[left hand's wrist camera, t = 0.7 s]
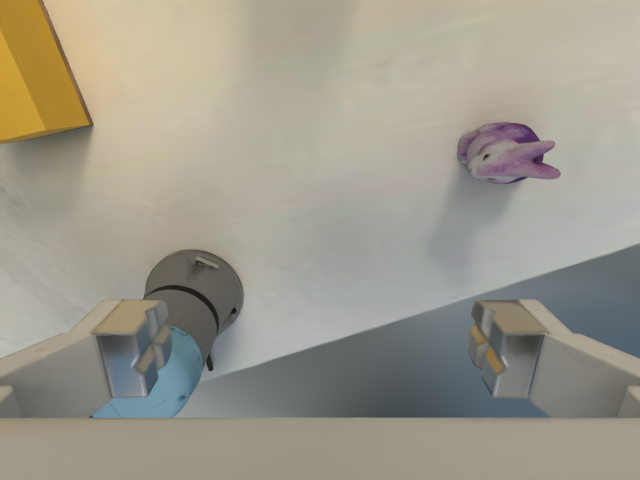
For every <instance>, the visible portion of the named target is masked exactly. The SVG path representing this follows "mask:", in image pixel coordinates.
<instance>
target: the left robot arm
mask: <svg viewBox="0 0 640 480" xmlns="http://www.w3.org/2000/svg"><path fill="white" fill-rule="evenodd" d="M168 316H169V313H168V308H167V304H166V303H165V302H164V301H163V300H124V299H117V300H102V301H101V302H100V303H99V304H98V305H97V306H96V307H95V308H94V309H93V310H92V311H91V312H90V313H89V314H87V315H86V316H85V317H84V318H83V319H82V320H81V321H80V322H79V323H78V324H77V325H76V326H75V327H74V328H72V329H71V330H70V331H69V332H68V333H67V334H59V335H56V336H54V337H52V338H49V339H47V340H44V341H42V342H40V343H37V344H35V345H32V346H30V347H28V348H25V349H23V350H20V351H18V352H16V353H13V354H11V355H8V356H6V357H4V358H1V359H0V480H640V359H639V358H636V357H634V356H631V355H629V354H627V353H624V352H622V351H619V350H617V349H615V348H612V347H610V346H608V345H605V344H603V343H600V342H598V341H596V340H593V339H591V338H588V337H586V336H584V335H581V334H573V333H572V332H571V331H570V330H569V329H568V328H566V327H565V326H564V325H563V324H562V323H561V322H560V321H559V320H558V319H557V318H556V317H555V316H554V315H553V314H552V313H550V312H549V311H548V310H547V309H546V308H545V307H544V306H543V305H542V304H541V303H540V302H539V301H537V300H534V299H526V300H486V301H475V303H474V305H473V308H472V313H471V316H472V317H473V319H474V321H475V322H476V323H475V324H474V325H473V326H472V327H471V328H470V329H469V331H468V339H467V343H468V352H469V355H470V358H471V360H472V362H473V364H474V366H476V367H477V368H479V369H480V370H482V377H481V378H482V380H483V382H484V383H485V385H486V387H487V389H488V390H489V392H490V394H491V395H492V397H499V398H528V400H529V401H530V402H532V403H533V404H534V405H536V406H537V407H538V408H539V409H541V410H542V411H544V412H545V413H546V414H547V415H549V416H550V417H551V418H89V417H90V416H91V415H93V414H94V413H95V412H97V411H98V410H99V409H101V408H102V407H103V406H105V405H106V404H107V403H109V402H110V401H111V400H112V399H111V398H141V397H148V396H149V394H150V392H151V390H152V389H153V387H154V385H155V383H156V382H157V380H158V378H159V377H158V370H160V369H161V368H163V367H164V366H166V364H167V362H168V360H169V358H170V355H171V351H172V342H173V338H172V331H171V329H170V328H169V327H168V326H167V325H166V324H165V323H164V322H165V321H166V319H167V317H168Z"/></svg>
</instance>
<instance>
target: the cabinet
mask: <svg viewBox="0 0 640 480" xmlns="http://www.w3.org/2000/svg"><path fill="white" fill-rule="evenodd" d="M89 125H93V122H92V119H91V117H90V115H89V112H88V110H87V107H86V105H85V102H84V100H83V98H82V95H81V93H80V90H79V88H78V85H77V83H76V81H75V78H74V76H73V73H72V71H71V68H70V66H69V64H68V61H67V59H66V56H65V54H64V51H63V49H62V47H61V44H60V42H59V39H58V37H57V34H56V32H55V29H54V27H53V25H52V22H51V20H50V17H49V15H48V12H47V10H46V8H45V5H44V3H43V0H0V144H4V143H11V142H17V141H25V140H30V139H35V138H39V137H43V136H47V135H51V134H56V133H60V132H64V131H68V130H72V129H77V128H81V127H85V126H89Z"/></svg>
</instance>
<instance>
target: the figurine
mask: <svg viewBox="0 0 640 480" xmlns="http://www.w3.org/2000/svg"><path fill="white" fill-rule="evenodd" d="M554 146H555V142H554V141H540V140H539V138H538V137H537V136H536V134H535V133H534V132H533V131H532V129H531V128H529V127H528V126H526V125H523V124H517V123H506V122H505V123H493V124H488V125H484V126H482V127H480V128H479V129H477V131H475V132H473V133H470V134H466V135H464V136H463V137H461V139H460V141H459V148H458V159H459V161H460V162H461V163H463V164H465V165H467V168H468V171H469V173H470V175H471V176H472V177H473V178H475V179H480V180H486V181H489V182H492V183H496V184H509V183H513V182H517V181H520V180H523V179H525V178H527V177H530V178H538V179H556V178H559V176H560V174H561V173H560V171H559V170H558V169H556V168H554V167H552V166H550V165H547V164H545V163H542V161H543V154H544V153H546V152H548V151H549V150H551V149H552V148H554Z"/></svg>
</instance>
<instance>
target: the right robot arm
mask: <svg viewBox="0 0 640 480" xmlns="http://www.w3.org/2000/svg"><path fill="white" fill-rule="evenodd" d="M143 300H163V301H164V302H165V303H166V304H167V308H168V313H169V316H168V317H167V319H166V321H165V322H164V323H165V324H166V325H167V326H168V327H169V328H170V329H171V331H172V338H173V342H172V351H171V355H170V358H169V360H168V362H167V364H166V366H164V367H163V368H161V369H160V370H158V377H159V378H158V380H157V382H156V383H155V385H154V387H153V389H152V390H151V392H150V394H149V396H148V397H141V398H111V399H112V400H111V401H110V402H109V403H107V404H106V405H105V406H103V407H102V408H101V409H99V410H98V411H97V412H95V413H94V414H93V415H91V416H90V417H89V418H173V417H174V416H175V415H176V414H177V413H178V412H179V411H180V410H181V409H182V408H183V406H184V405H185V404H186V402H187V400H188V398H189V396H190V395H191V394H192V392H193V391H194V389H195V388H196V386H197V384H198V381H199V379H200V376H201V372H202V369H203V367H204V365H205V362H206V363H207V366H208V369H209V371H212V370H213V366H212V363H211V359H210V356H209V353H210V350H211V348H212V345H213V343H214V341H215V338H216V337H217V336H218V335H219V334H221V333H222V332H223V331H224V330H226V329H227V328H228V327H229V326H230V325H231V324H232V323H233V322H234V321H235V319H236V317H237V315H238V313H239V310H240V308H241V305H242V300H243V291H242V286H241V283H240V280H239V278H238V276H237V274H236V273H235V271H234V270H233V269H232V268H231V267H230V266H229V265H228V264H227V263H226V262H225V261H223V260H222V259H221V258H219V257H217V256H215V255H213V254H211V253H208V252H204V251H199V250H183V251H178V252H175V253H173V254H170V255H168V256H167V257H165V258H164V259H163V260H161V261H160V262H159V263H158V264H157V265H156V266H155V268H154V269H153V270H152V272H151V273H150V275H149V277H148V280H147V283H146V288H145V294H144V298H143Z"/></svg>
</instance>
